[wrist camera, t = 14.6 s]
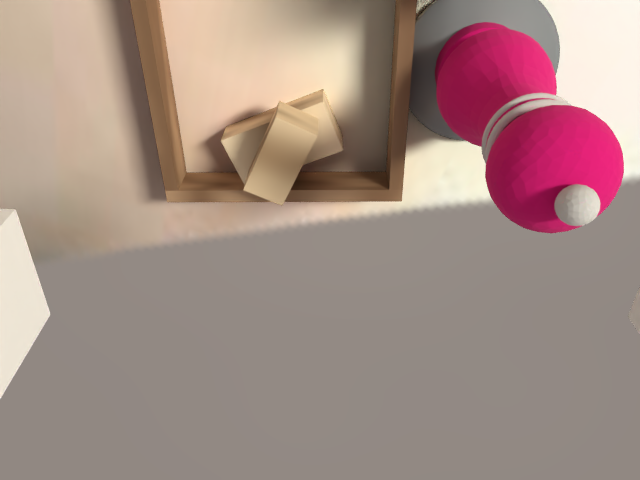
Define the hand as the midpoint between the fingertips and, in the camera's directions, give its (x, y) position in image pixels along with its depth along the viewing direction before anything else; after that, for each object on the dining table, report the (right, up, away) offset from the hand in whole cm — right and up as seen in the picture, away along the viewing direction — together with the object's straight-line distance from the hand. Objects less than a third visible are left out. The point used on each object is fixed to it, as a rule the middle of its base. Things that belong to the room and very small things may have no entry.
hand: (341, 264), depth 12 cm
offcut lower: (-3, +9, +32) cm, 34 cm away
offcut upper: (-3, +7, +30) cm, 31 cm away
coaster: (+11, +13, +29) cm, 33 cm away
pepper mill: (+11, +13, +28) cm, 33 cm away
